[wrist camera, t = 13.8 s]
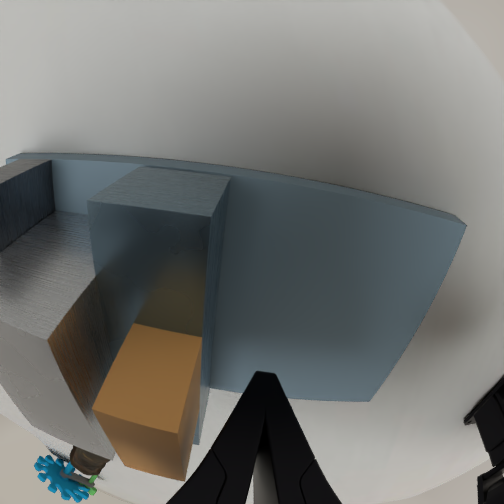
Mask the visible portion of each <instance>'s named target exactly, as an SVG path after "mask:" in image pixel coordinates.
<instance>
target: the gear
mask: <svg viewBox="0 0 504 504" xmlns="http://www.w3.org/2000/svg"><path fill="white" fill-rule="evenodd" d="M37 462H38V463H37ZM37 462H36V463H35V465H34V467H35V469H36V470H37V471H41V470H44V471H45V472H46V473H39V475H38V478H39V479H40V480H41V481H42V482H45V480H46V479H47V478H48V479H49V480H50V481H51V484H50V485H49V487H48V490H50V491H51V492H53V493H55V492H56V491H57V488H58V489H59V490H60V492H61V497H62V498H63V499H64V500H69V499H70V498H71V496H72V497H73V499H74V500H75V501H76V502H77V503H78V502H80V501H81V500H82V498H84V499H87V498H88V497H89V494H90V495H94V494H95V493H96V491H97V489H96V488H94V487H93V486H94V485H95V484H94V480H95V479H96V477H97V476H98V475H93V476H91V478H90V479H88V478H85V477H83V476H82V475H80V474H79V475H78V474H76V473H73V472H74V471H75V468H74V467H73V466H72V465H71V464H70V461H69V463H68V465H67V466H66V468H65V466H64V462H63V460H61V459H58V458H57V459H56V461H55V462H54V460H53V458H52V457H51V456H50V455H47V456H46V457H45V459H44V458H43V457H41V456H39V458H38V460H37ZM41 464H43V465H45V466H43V465H41ZM79 489H80V490H83V491H80V490H79ZM87 492H89V494H88V493H87ZM75 493H76V494H75ZM69 494H70V495H71V496H70V495H69ZM77 494H78V495H77Z"/></svg>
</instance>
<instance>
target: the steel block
mask: <svg viewBox="0 0 504 504" xmlns="http://www.w3.org/2000/svg"><path fill="white" fill-rule="evenodd" d="M113 362H114V359H113V355H112V352H111V348H110V344H109V340H108V336H107V331H106V327H105V323H104V318H103V313H102V309H101V304H100V298H99V293H98V288H97V282H96V276H95V270H94V263H93V256H92V248H91V240H90V231H89V221H88V214H81V213H74V212H66V211H59V210H56V211H55V212H53V213H52V214H51V215H49V216H48V217H46V218H45V219H44V220H42V221H41V222H39V223H38V224H37V225H35V226H34V227H33V228H31V229H30V230H29V231H27V232H26V233H25V234H23V235H22V236H21V237H20V238H18V239H17V240H16V241H14V242H13V243H12V244H11V245H9V246H8V247H7V248H6V249H5V250H3V251H2V252H1V253H0V383H1V385H2V386H3V388H4V389H5V391H6V392H7V394H8V395H9V396H10V398H11V399H12V401H13V402H14V403H15V405H16V406H17V407H18V409H19V410H20V411H21V412H22V414H23V415H24V416H25V417H26V419H27V420H28V421H29V422H30V424H31V425H32V426H34V427H36V428H38V429H40V430H42V431H44V432H46V433H48V434H50V435H52V436H54V437H56V438H58V439H60V440H63V441H65V442H67V443H69V444H72V445H74V446H76V447H79V448H81V449H83V450H86V451H88V452H91V453H94V454H96V455H99V456H102V457H104V458H107V459H110V460H113V458H114V455H115V452H116V451H115V449H114V448H113V446H112V444H111V443H110V441H109V439H108V438H107V436H106V434H105V433H104V431H103V429H102V427H101V425H100V424H99V422H98V420H97V418H96V416H95V414H94V412H93V410H92V407H93V405H94V402H95V400H96V398H97V396H98V394H99V391H100V389H101V387H102V385H103V383H104V381H105V379H106V377H107V375H108V372H109V370H110V368H111V366H112V364H113Z"/></svg>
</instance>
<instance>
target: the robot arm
mask: <svg viewBox="0 0 504 504" xmlns="http://www.w3.org/2000/svg"><path fill="white" fill-rule="evenodd" d="M474 423H476V424H477V427H478V430H479V433H480V435H481V438H482V441H483V444H484V447H485V450H486V452H488V453H489V456H490V459H491V463H492V466H493V467H494V466H496V467H494V468H493V469H491V470H490V471H488V472H486V473H484V474H481V475H480V476H478V478H477V481H478V485H477V488H478V504H504V477H503V475H502V474H503V473H504V378H503V379H502V380H501V381H500V382H499V383H498V385H497V386H496V387H495V388H494V389H493V390H492V391H491V393H490V394H489V395H488V396H487V397H486V398H485V399H484V400H483V401H482V402H481V403H480V404H479V406H478V407H477V408H476V409H475V410H474V411H473V412H472V413H471V414H470V415H469V416H468V417H467V418H466V419H465V420H464V424H465V425H469V424H474ZM252 475H253V487H254V504H342V503H341V501H340V500H339V498H338V497H337V496H336V494H335V493H334V491H333V489H332V488H331V486H330V485H329V483H328V482H327V480H326V478H325V476H324V474H323V472H322V470H321V469H320V467H319V464H318V462H317V460H316V459H315V456H314V454H313V452H312V450H311V448H310V446H309V444H308V442H307V440H306V437H305V435H304V433H303V431H302V429H301V427H300V425H299V422H298V420H297V418H296V416H295V414H294V412H293V410H292V407H291V405H290V403H289V401H288V399H287V397H286V394H285V392H284V390H283V388H282V386H281V383H280V381H279V379H278V377H277V375H276V374H275V373H272V372H264V371H255V373H254V374H253V376H252V378H251V380H250V382H249V383H248V385H247V387H246V389H245V391H244V392H243V394H242V396H241V398H240V399H239V401H238V403H237V405H236V406H235V408H234V410H233V411H232V413H231V415H230V417H229V418H228V420H227V422H226V423H225V425H224V427H223V428H222V430H221V432H220V433H219V435H218V437H217V438H216V440H215V442H214V443H213V445H212V447H211V449H210V450H209V451H208V453H207V454H206V456H205V458H204V459H203V461H202V462H201V464H200V465H199V466H198V468H197V469H196V471H195V472H194V473H193V474H192V476H191V477H190V478H189V479H188V480H187V481H186V483H185V484H184V485H183V486H182V487H181V488H180V489H179V490H178V491H177V492H176V493H175V495H174V496H173V497H172V498H171V499H170V500H169V501H168V502H167V503H166V504H245V503H246V499H247V495H248V491H249V487H250V483H251V479H252Z"/></svg>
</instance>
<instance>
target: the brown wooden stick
mask: <svg viewBox="0 0 504 504" xmlns="http://www.w3.org/2000/svg"><path fill="white" fill-rule="evenodd" d="M109 461H110V459H107V458H104V457H102V456H99V455H96V454H94V453H91V452H88V451H86V450H83V449H81V448H79V447H76V446H74V445H73V449H72V450H71V453H70V464H71V465H72V466H73V467H75V468H76V469H77V470H79V471H80V472H82V473H83V474H86V475H92V476H93V475H98V474H100V472H101V470H102V469H103V468H104V466H105V465H106V463H107V462H109Z"/></svg>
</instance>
